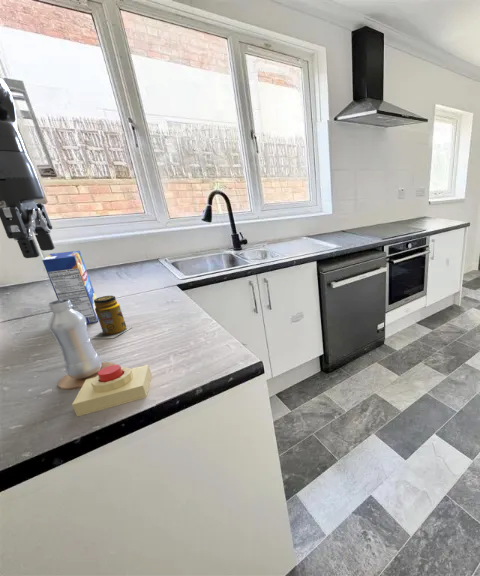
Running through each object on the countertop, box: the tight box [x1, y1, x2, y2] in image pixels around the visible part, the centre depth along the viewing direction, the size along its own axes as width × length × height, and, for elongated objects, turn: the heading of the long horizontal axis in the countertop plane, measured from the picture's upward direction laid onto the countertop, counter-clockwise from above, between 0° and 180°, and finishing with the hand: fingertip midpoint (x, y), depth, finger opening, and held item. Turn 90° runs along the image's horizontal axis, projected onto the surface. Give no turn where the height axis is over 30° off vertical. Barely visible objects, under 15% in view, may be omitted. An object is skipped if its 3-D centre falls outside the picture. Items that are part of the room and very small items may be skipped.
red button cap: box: [98, 364, 123, 382], centre depth 70 cm, size 4×4×2 cm
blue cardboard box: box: [41, 250, 99, 325], centre depth 108 cm, size 12×8×24 cm, turn 37°
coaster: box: [57, 361, 116, 391], centre depth 79 cm, size 11×11×1 cm
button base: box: [71, 364, 153, 417], centre depth 71 cm, size 12×10×5 cm
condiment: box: [91, 295, 134, 340], centre depth 100 cm, size 7×8×12 cm
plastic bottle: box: [47, 299, 102, 379], centre depth 75 cm, size 6×7×20 cm
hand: (40, 253), depth 68 cm, fingers open, 8 cm apart
